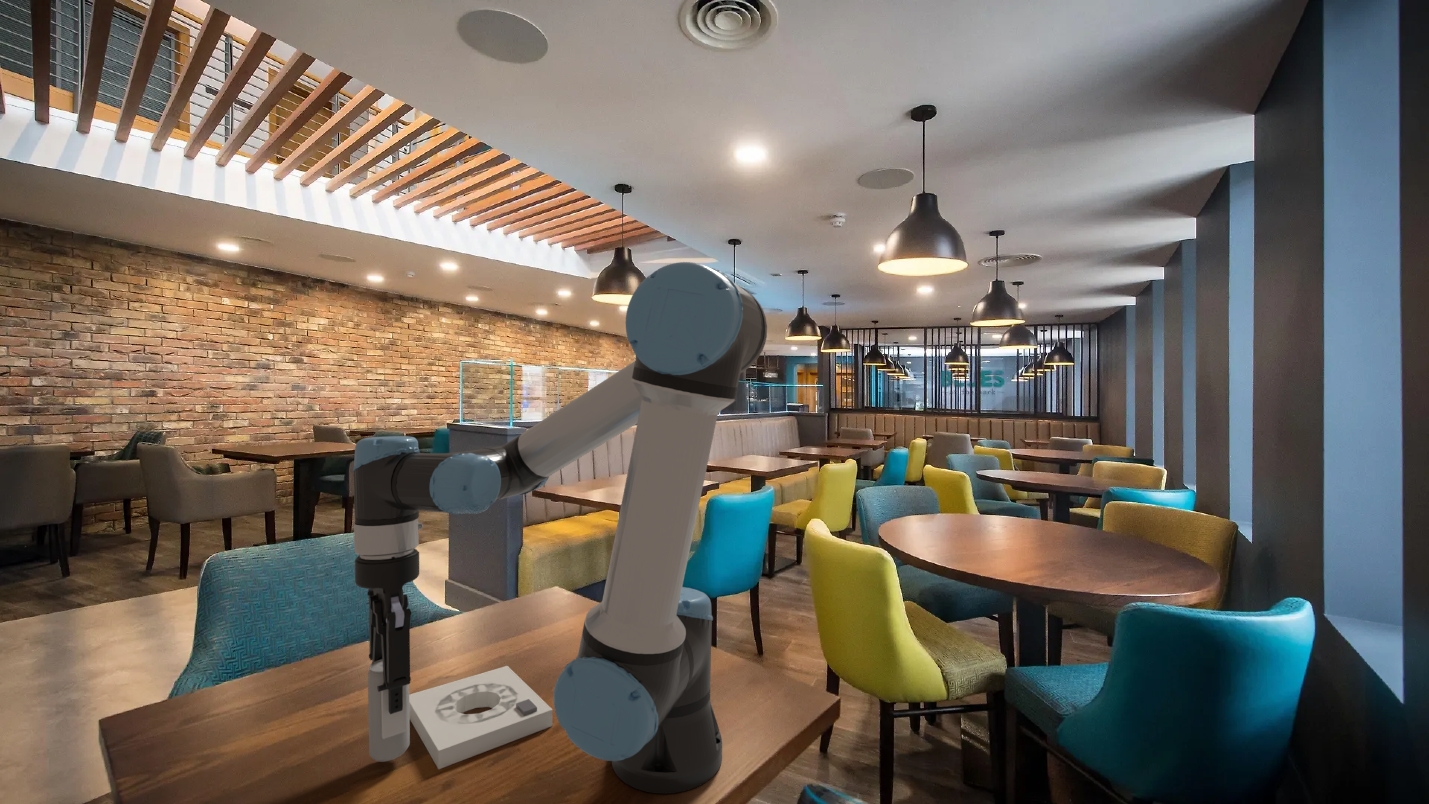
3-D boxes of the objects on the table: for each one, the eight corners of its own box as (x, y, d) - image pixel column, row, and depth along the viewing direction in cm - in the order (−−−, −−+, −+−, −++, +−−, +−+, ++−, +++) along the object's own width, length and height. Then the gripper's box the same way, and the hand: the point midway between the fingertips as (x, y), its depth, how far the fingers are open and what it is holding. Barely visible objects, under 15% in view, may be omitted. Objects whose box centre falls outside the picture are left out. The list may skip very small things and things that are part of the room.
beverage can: (391, 765, 75) (391, 673, 75) (359, 761, 76) (359, 670, 76) (417, 744, 80) (417, 657, 80) (387, 740, 81) (386, 654, 81)
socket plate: (552, 725, 87) (552, 705, 87) (438, 769, 77) (438, 746, 77) (507, 679, 101) (507, 662, 101) (405, 711, 91) (405, 691, 91)
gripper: (436, 560, 74) (438, 744, 74) (402, 535, 87) (404, 690, 87) (368, 572, 69) (370, 768, 69) (344, 544, 82) (345, 707, 82)
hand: (389, 724), depth 78 cm, fingers closed on beverage can, 5 cm apart
